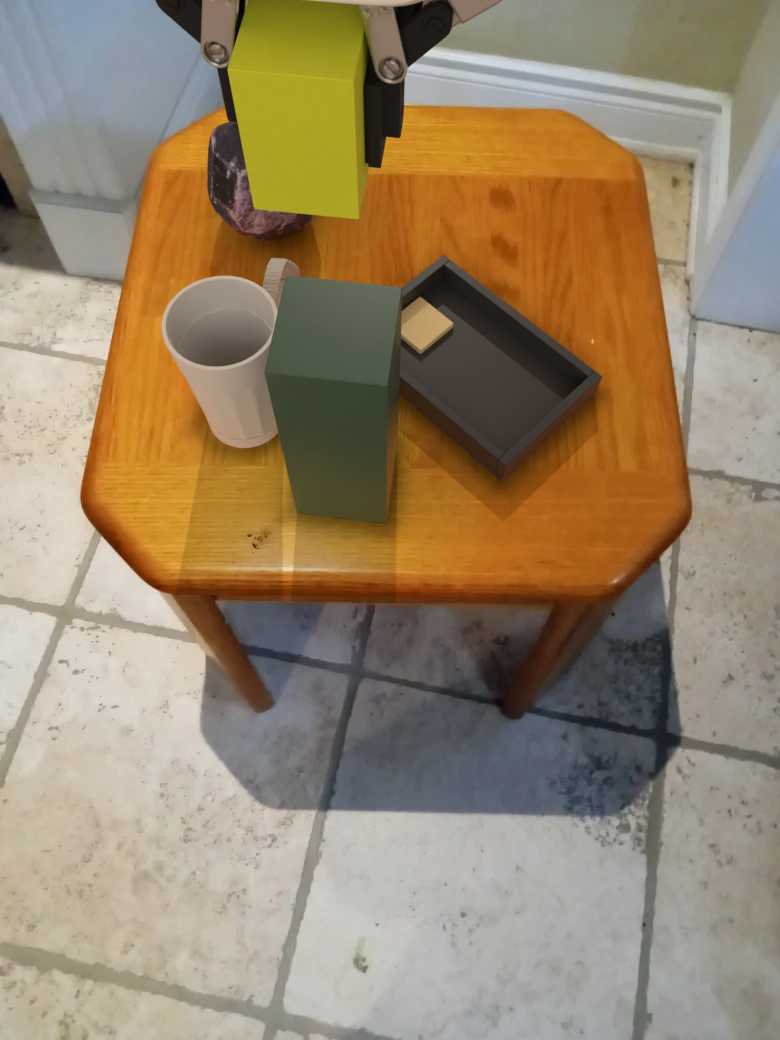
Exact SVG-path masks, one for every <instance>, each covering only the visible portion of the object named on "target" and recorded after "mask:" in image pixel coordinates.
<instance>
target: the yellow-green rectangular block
mask: <svg viewBox="0 0 780 1040" xmlns="http://www.w3.org/2000/svg"><path fill="white" fill-rule="evenodd" d="M369 55H370V49H369V46H368V42H367V38H366V34H365V31H364V27H363V23H362V19H361V15H360V12H359V8H358V5H355V4H344V3H332V2H320V1H308V0H248V3H247V6H246V10H245V13H244V16H243V19H242V23H241V26H240V29H239V33H238V36H237V39H236V43H235V46H234V49H233V53H232V56H231V59H230V63H229V66H228V69H227V70H228V75H229V81H230V86H231V91H232V96H233V101H234V107H235V112H236V117H237V122H238V127H239V133H240V138H241V143H242V148H243V153H244V159H245V164H246V169H247V174H248V180H249V185H250V190H251V195H252V200H253V206H254V209H259V210H269V211H279V212H289V213H299V214H309V215H315V216H320V217H330V218H331V217H332V218H340V219H350V220H360V217H361V210H362V205H363V201H364V196H365V189H366V185H367V180H368V173H369V168H370V167H368V164H367V163H365V138H364V101H363V87H364V80H365V75H366V70H367V65H368V60H369Z"/></svg>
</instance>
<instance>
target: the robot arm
mask: <svg viewBox="0 0 780 1040" xmlns="http://www.w3.org/2000/svg"><path fill="white" fill-rule="evenodd" d="M308 1H320V2H332V3H344V4H355V5H358V8H359V12H360V15H361V19H362V23H363V27H364V31H365V34H366V38H367V42H368V46H369V49H370V55H369V60H368V65H367V70H366V75H365V80H364V87H363V101H364V138H365V163H367V164H368V167H369V168H373V169H382V164H383V159H384V153H385V147H386V141H387V138H392V139H393V138H394V139H401V136H402V131H403V125H404V113H405V89H406V88H405V87H406V83H405V82H406V76H407V73H408V69H409V67H412V65H414V63H416V62H417V61H419V59H421V58H422V57H423V56H424V55H426V54H427V53H428V52H430V51H431V50H432V49H433V48H434V47H437V46H438V44H440V43H441V42H442V41H443V40H444V39H445V38H447V37H448V35H450V33H451V31H452V28H454V27H457V26H458V25H460V24H462V25H464V24H465V23H467V22H469V21H470V20H472V19H474V18H475V17H478V16H479V15H482V14H483V13H484V12H486V11H488V10H490V9H492V8H493V7H495V6H496V5H498V4H500V3H501V2H502V1H503V0H308ZM155 3H156V5H157V7H158V8H159V9H160V10H161V11H162V12H163V13H164V15H166V16H168V17H169V18H170V19H171V20H172V21H173V22H174V23H176V24H177V26H179V27H180V28H181V29H182V30H183V31H185V32H186V33H187V34H188V36H189V35H190V36H191V38H193V39H194V40H195V41H196V42H197V43H199V44H200V53H201V55H202V58H203V59H204V60H205V62H206V63H207V64H209V65H210V66H211V67H214V68H216V71H217V74H218V75H217V76H218V80H219V84H220V90H221V95H222V100H223V104H224V109H225V114H226V118H227V121H228V122H237V117H236V112H235V107H234V101H233V96H232V91H231V86H230V81H229V75H228V70H227V69H228V66H229V63H230V59H231V56H232V53H233V49H234V46H235V43H236V39H237V36H238V33H239V29H240V26H241V23H242V19H243V16H244V13H245V10H246V6H247V3H248V0H155ZM237 123H238V122H237Z"/></svg>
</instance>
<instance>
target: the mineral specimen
mask: <svg viewBox="0 0 780 1040" xmlns="http://www.w3.org/2000/svg"><path fill="white" fill-rule="evenodd" d="M206 167H207V170H206V173H207V179H206V181H207V182H206V183H207V184H206V189H207V195H208V199H209V202H210V204H211V206H212V208H213V210H214V212H215V213H216V214H217V215H218V216H219V217H220V218H221V219H222V220H223V221H224V222H225V223H227V225H228V226H229V227H231V228H232V229H233V230H234V231H236V232H237V233H239V234H240V235H243V236H245V237H250V238H254V239H257V240H262V241H271V240H274V239H278V238H281V237H285V236H288V235H291V234H294V233H297V232H300V231H302V230H303V229H304V230H305V228H306V227H307V226H309V224H310V223H311V222H312V221H313V220H314V218H315V217H316V215H309V214H299V213H289V212H279V211H269V210H259V209H254V206H253V200H252V195H251V190H250V185H249V180H248V174H247V169H246V164H245V159H244V153H243V148H242V143H241V138H240V133H239V127H238V123H237V122H229V121H228V122H224V123H222V124H219V125H216V127H214V129H212V132H211V133H210V136H209V140H208V146H207V165H206Z"/></svg>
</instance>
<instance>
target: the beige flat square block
mask: <svg viewBox="0 0 780 1040" xmlns="http://www.w3.org/2000/svg"><path fill="white" fill-rule="evenodd" d="M452 328H453V322H452V321H450V320H449V319H448V318H447V317H445V316H444V315H443V314H442V313H440V312H439V311H438V310H436V309H435V308H434V307H433V306H431V305H430V304H429V303H428V302H426V301H425V300H424V299H423V298H421V297H419V298H417V299H416V300H415V301H414V302H412V303H411V304H410V305H409V306H407V307H406V308H405V309H404V310H402V318H401V339H403V340H404V341H405V342H406V343H407V344H409V345H410V346H411V347H412V348H413V349H415V350H416V351H417V352H418V353H420V354H422V353H423V352H424V351H425V350H426V349H428V348H429V347H430V346H431V345H432V344H434V343H435V342H436V341H437V340H438V339H440V338H441V337H442V336H443V335H444V334H446V333H447V332H448V331H449V330H450V329H452Z"/></svg>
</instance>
